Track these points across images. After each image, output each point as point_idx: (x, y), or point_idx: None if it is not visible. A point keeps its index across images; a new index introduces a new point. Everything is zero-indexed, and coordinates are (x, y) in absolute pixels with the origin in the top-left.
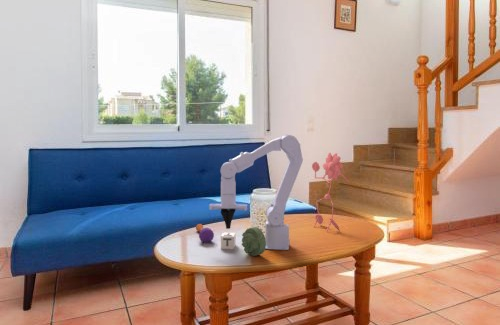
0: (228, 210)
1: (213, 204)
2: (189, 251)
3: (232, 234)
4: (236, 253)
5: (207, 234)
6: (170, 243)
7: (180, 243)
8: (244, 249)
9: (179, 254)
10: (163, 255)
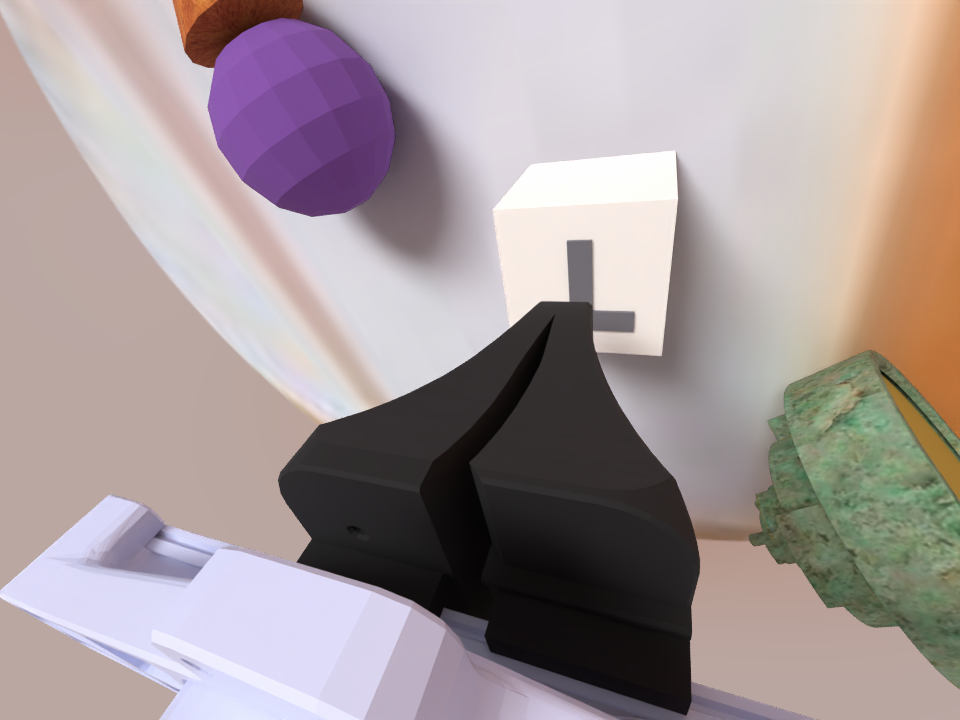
0: (455, 491)
1: (99, 650)
2: (363, 348)
3: (636, 279)
4: (693, 376)
5: (338, 208)
6: (167, 215)
7: (213, 203)
8: (775, 431)
9: (346, 389)
10: (292, 399)
